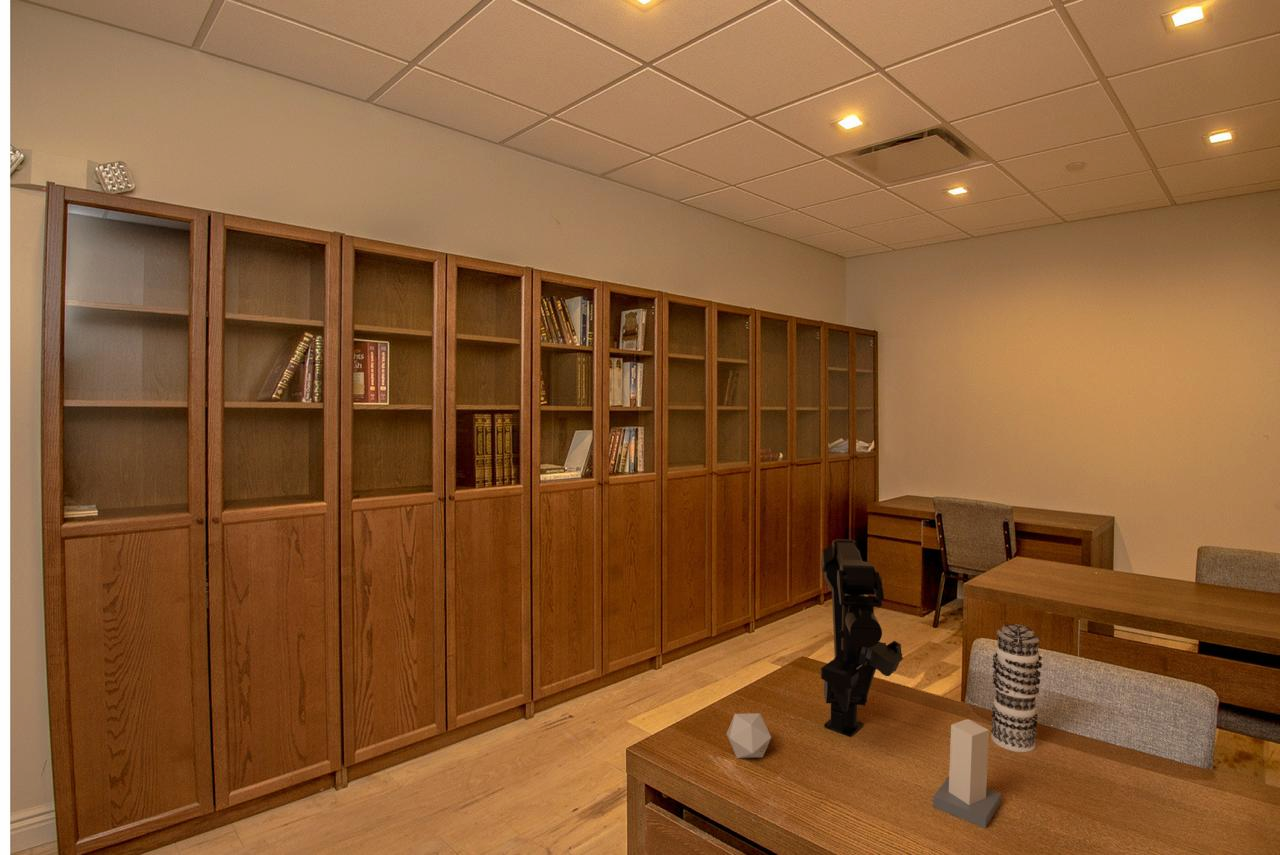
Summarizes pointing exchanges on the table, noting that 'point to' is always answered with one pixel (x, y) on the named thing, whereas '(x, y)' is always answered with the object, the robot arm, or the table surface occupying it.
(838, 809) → the table surface
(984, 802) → the plate
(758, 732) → the die
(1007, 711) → the decorative candle
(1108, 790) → the table surface
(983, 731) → the tall white pillar block
